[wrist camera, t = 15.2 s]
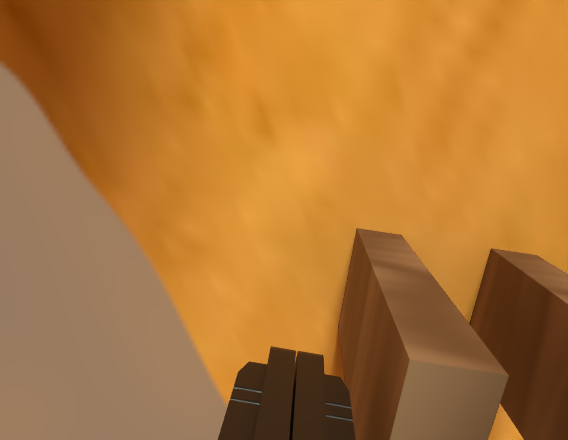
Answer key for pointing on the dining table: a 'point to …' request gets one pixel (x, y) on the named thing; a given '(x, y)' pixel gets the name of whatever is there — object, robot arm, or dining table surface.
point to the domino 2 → (527, 339)
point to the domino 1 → (411, 351)
